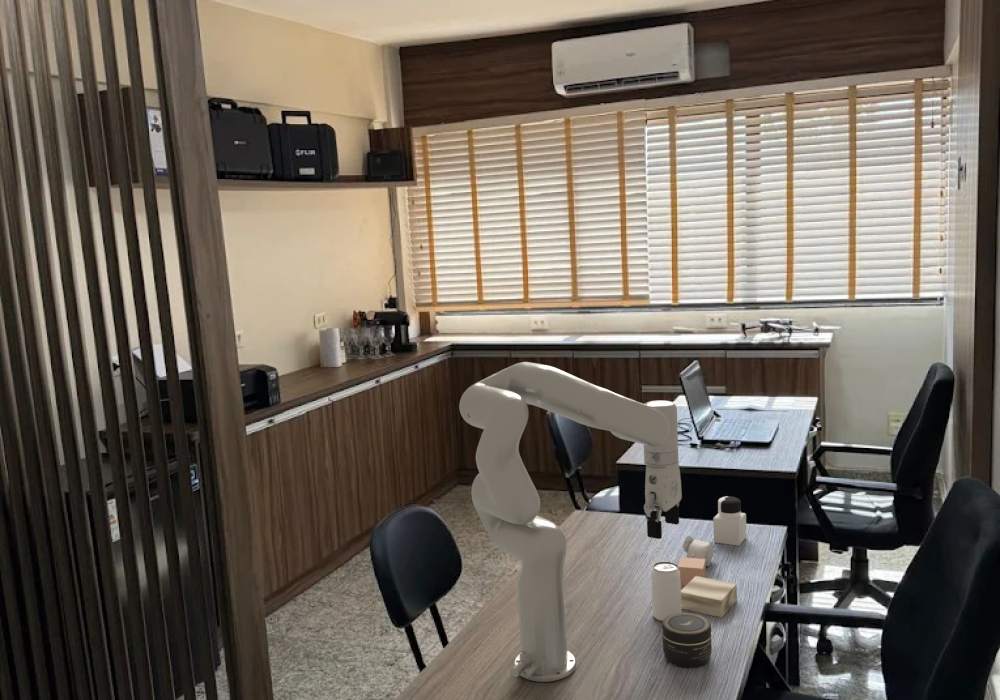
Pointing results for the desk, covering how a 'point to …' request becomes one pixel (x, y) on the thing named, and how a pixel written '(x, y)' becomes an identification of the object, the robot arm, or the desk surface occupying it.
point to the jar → (687, 640)
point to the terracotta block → (691, 569)
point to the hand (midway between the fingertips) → (663, 530)
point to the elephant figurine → (699, 549)
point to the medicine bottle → (729, 522)
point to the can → (665, 590)
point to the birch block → (708, 596)
